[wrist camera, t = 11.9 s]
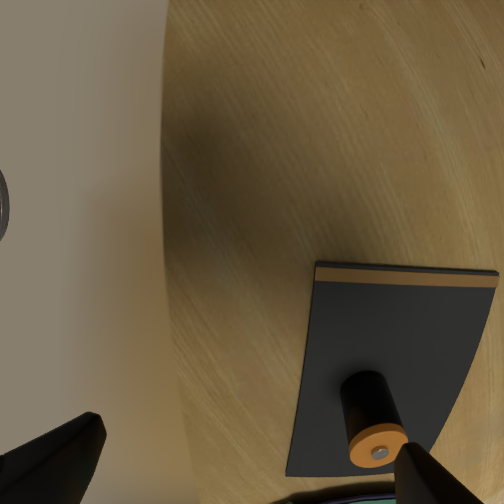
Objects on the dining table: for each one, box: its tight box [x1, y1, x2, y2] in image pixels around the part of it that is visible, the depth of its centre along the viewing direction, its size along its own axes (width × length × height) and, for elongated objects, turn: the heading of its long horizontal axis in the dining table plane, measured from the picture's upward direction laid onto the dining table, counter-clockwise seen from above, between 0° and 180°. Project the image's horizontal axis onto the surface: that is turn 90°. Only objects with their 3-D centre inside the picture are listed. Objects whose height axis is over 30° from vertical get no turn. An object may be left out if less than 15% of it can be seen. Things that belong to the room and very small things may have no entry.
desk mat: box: [285, 261, 500, 477], centre depth 20 cm, size 13×20×1 cm, turn 178°
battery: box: [340, 370, 408, 468], centre depth 17 cm, size 3×3×6 cm
